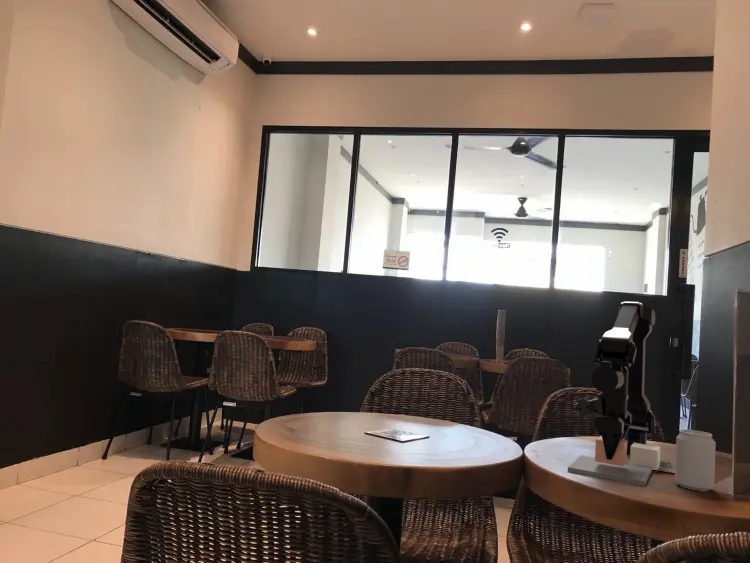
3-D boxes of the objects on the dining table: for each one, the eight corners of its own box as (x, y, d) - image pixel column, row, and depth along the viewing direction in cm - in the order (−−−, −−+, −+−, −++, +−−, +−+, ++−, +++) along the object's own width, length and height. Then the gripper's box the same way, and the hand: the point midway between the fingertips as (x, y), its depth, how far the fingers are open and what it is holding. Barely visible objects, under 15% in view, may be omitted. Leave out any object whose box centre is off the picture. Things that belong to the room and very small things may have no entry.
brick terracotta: (599, 456, 139) (600, 435, 139) (626, 461, 136) (627, 440, 136) (594, 461, 134) (595, 439, 134) (622, 466, 131) (623, 444, 131)
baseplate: (581, 459, 145) (581, 455, 145) (651, 471, 137) (651, 467, 137) (567, 471, 132) (567, 467, 132) (644, 486, 124) (644, 481, 124)
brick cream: (633, 462, 147) (634, 442, 147) (659, 467, 144) (660, 446, 144) (629, 466, 142) (630, 446, 142) (656, 471, 138) (657, 450, 139)
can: (719, 494, 121) (721, 436, 122) (680, 489, 123) (682, 432, 124) (706, 484, 129) (708, 430, 129) (670, 480, 130) (672, 426, 131)
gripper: (586, 383, 148) (583, 444, 147) (570, 388, 132) (566, 457, 131) (633, 388, 142) (630, 452, 141) (623, 394, 126) (619, 467, 125)
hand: (611, 457), depth 135 cm, fingers closed on brick terracotta, 6 cm apart
